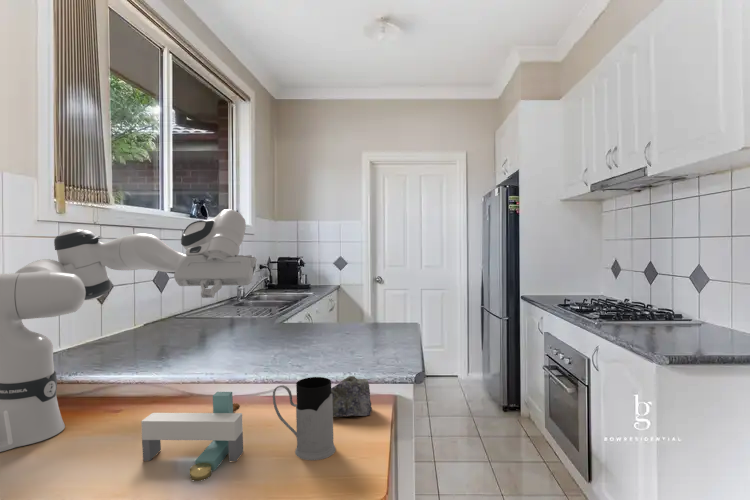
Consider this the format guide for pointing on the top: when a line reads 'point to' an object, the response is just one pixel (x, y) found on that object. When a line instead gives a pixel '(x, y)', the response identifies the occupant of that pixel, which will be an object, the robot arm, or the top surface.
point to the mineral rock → (351, 397)
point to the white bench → (192, 430)
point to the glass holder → (312, 418)
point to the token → (200, 471)
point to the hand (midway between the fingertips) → (207, 296)
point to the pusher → (217, 447)
